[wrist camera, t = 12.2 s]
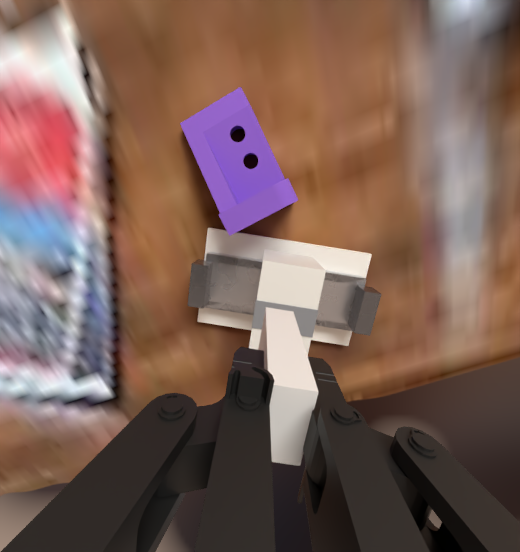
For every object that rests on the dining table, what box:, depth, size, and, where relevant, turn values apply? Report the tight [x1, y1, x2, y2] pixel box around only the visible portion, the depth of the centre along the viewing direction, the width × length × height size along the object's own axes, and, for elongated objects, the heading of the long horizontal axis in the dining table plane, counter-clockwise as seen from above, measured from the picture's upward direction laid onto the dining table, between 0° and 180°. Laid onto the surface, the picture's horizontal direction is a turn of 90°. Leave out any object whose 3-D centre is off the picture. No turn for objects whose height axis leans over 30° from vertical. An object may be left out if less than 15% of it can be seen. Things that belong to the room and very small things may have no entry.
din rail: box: [188, 251, 381, 335], centre depth 28 cm, size 19×6×4 cm, turn 81°
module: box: [249, 249, 326, 356], centre depth 25 cm, size 5×9×7 cm, turn 171°
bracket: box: [180, 87, 298, 236], centre depth 25 cm, size 12×7×7 cm, turn 27°
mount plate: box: [197, 228, 372, 346], centre depth 31 cm, size 18×11×1 cm, turn 81°
